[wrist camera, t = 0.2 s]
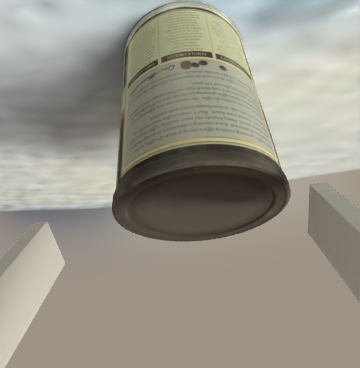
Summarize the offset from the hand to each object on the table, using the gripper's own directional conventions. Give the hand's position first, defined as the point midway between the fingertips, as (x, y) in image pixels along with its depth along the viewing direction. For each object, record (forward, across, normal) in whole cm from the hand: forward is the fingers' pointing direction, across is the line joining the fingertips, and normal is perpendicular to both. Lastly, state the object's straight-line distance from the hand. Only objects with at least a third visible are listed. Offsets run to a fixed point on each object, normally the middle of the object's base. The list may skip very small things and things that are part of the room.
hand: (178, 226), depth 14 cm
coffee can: (+14, +2, +7) cm, 16 cm away
